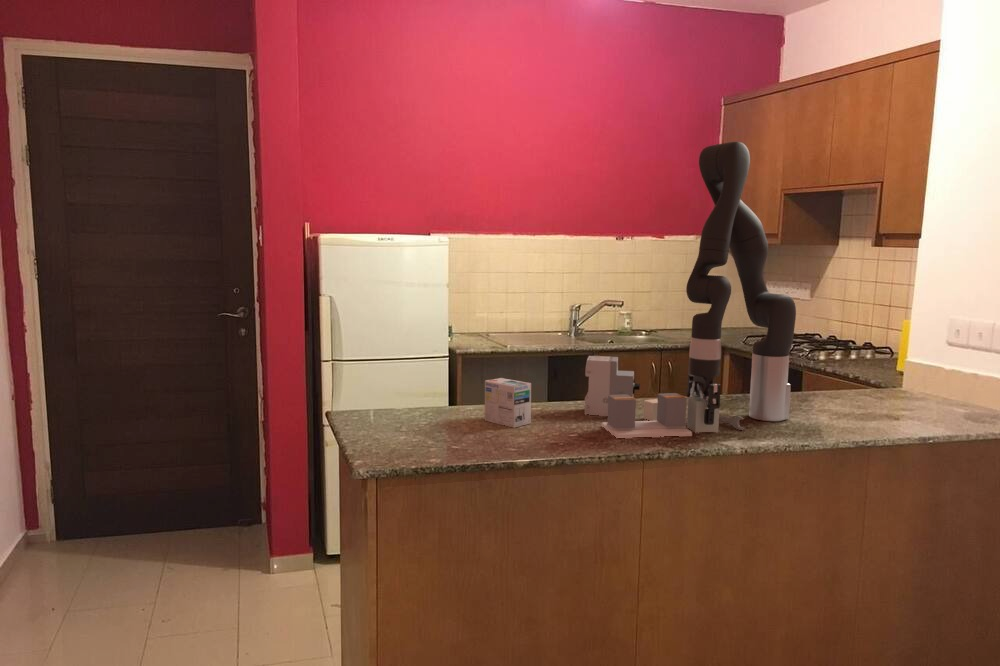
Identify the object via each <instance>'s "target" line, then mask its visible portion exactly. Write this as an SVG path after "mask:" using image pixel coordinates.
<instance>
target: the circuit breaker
mask: <svg viewBox="0 0 1000 666" xmlns="http://www.w3.org/2000/svg"><path fill="white" fill-rule="evenodd" d="M584 373H585V374H584V375H585V377H587V378H588V392H587V393H586V395H585V397H584V414H589V415H588V416H590V415H599V416H598V417H607V416H608V395H626V394H628V395H629V396H631V397H634V395H635V391H636V390H637V391H640V389H641V386H640V385H641V384H640V383H637V382H636V381H635V380H636V379H635V371H634V370H619V357H618V356H605V355H604V356H603V355H602V356H601V355H588V356H587V359H586V364H585V372H584Z"/></svg>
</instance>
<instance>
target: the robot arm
mask: <svg viewBox="0 0 1000 666" xmlns="http://www.w3.org/2000/svg"><path fill="white" fill-rule="evenodd" d="M750 165H751V156H750V151H749V148H748V147H747V145H745V144H744V143H743V142H740V141H730V142H723V143H718V144H712V145H708V146H705V147H704V148H703V149H702V150H701V152H700V154H699V156H698V167H699V171H700V175H701V177H702V179H703V180H702V181H703V182H704V184H705V187H706V189H707V191H708V193H709V195H710V197H711V200H712V202H713V204H714V207H713V209H712V211H711V213H710V214H709V215H708V217H707V219H706V220H705V223H703V224H704V225H703V227H702V231H701V234H700V240H699V249H698V255H697V258H696V260H695V263H694V266H693V268H692V271H691V273H690V275H689V278H688V280H687V283H686V290H685V292H686V295H687V298H688V300H689V301H690V302H691V303H694V304H705V305H710V308H709V309H708V311H707V312H701V313H696V314H694V315H693V317H692V321H691V322H692V323H691V337H690V344H689V352H688V353H689V356H688V357H689V358H688V359H689V360H688V374H687V380H686V381H687V384H686V396H685V397H686V398H688V397H701V401H703V402H704V406H705V415H704V423H705V424H706V425H712V424H714V410H716V409H719V410H720V408H721V384H720V383H715V378H717V377H719V376H720V374H721V361H722V360H721V359H722V358H721V357H722V342H721V341H722V339H721V338H722V326H723V320H724V316H725V312H726V309H727V305H728V303H729V302H730V298H731V295H732V283H731V281H730V280H729V279H728V278H727V277H726V276H724V275H714V274H713V275H711V274H710V275H709V273H710V272H711V270H712V269H716V268H717V267H718V268H719V267H723V266H725V265H726V264H727V263H728V260H729V253H731V256H732V258H733V261H734V263H735V267H736V271H737V274H738V278H739V281H740V285H741V289H742V293H743V299H744V303H745V307H746V312H747V315H748V317H749V320H750V321H751V322H752V324H753V325H755V326H757V327H760V328H765V329H767V333H766V336H765V338H762V339H760V340H757V341H755V342H753V344H752V352H751V353H752V355H751V371H750V372H751V373H750V375H751V376H750V390H749V406H748V407H749V408H748V412H749V413H748V417H750V418H751V419H754V420H758V421H759V420H760V421H765V422H766V421H767V422H783V421H784V420H789V417H790V405H791V404H790V403H791V402H790V401H791V385H792V384H790V383H789V382H788V380H789V365H790V350H791V348H792V345H793V342H794V334H795V329H796V328H795V325H796V317H797V307H796V306H797V305H796V303H795V300H794V298H792V297H791V296H790V295H787V294H781V293H771V292H769V289H768V287H767V285H766V281H765V277H764V267H765V265H766V263H767V262H766V261H767V258H768V253H769V243H768V239H767V236H766V231H765V230H764V229H765V228H764V226H763V224H762V222H761V220H760V218H759V217H758V216H757V215H756V213H754V211H752V209H751V208H750V207H749V206H748V205H746V203H745V202H743V200H742V199H741V198H742V195H743V192H744V188H745V185H746V182H747V177H748V174H749V169H750ZM715 399H716V403H715Z"/></svg>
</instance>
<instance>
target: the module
mask: <svg viewBox="0 0 1000 666" xmlns="http://www.w3.org/2000/svg"><path fill="white" fill-rule="evenodd" d="M687 399H688V400H687V417H686V419H687V421H686V422H687V423H686V429H688V428H689V429H690V431H691V430H692V431H691V432H693V431H694V432H695V433H694V432H693V433H694V434H700V433H699V432H716V433H719V423H720V422H719V421H720V420H719V414H720V408H719V409H716V410H714V424H712V425H706V424H705V423H704V415H705V406H704V402H703V401H701V397H687ZM715 403H716V399H715ZM689 429H688V430H689ZM696 432H698V433H696Z"/></svg>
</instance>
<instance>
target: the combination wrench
mask: <svg viewBox="0 0 1000 666" xmlns="http://www.w3.org/2000/svg"><path fill="white" fill-rule="evenodd" d="M740 420H745V418H744V417H743V416H741V415H736V416H734V417H733V418H732V417H729V416H726V415H723V414H720V413H719V421H721V422H724V423H726V424H730V425H732V426H733V427H734V429H735V428H736V429H735V430H737V429H739V430H742V431H743V430H744V429H745V426H741V425H740ZM739 430H738V431H739Z"/></svg>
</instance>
